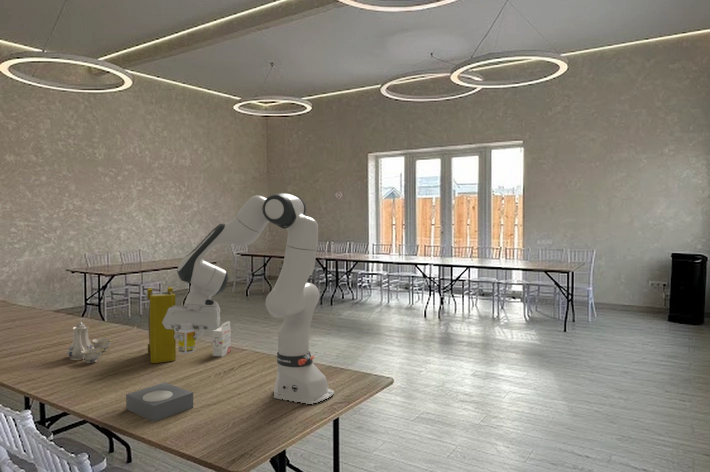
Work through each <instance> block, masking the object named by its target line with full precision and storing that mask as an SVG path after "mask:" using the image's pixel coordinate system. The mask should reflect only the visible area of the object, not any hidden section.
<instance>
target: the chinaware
mask: <svg viewBox="0 0 710 472" xmlns="http://www.w3.org/2000/svg"><path fill="white" fill-rule="evenodd" d="M71 328H72V332H73V337H72V338H73V339H72V342H71V344H70V346H69V347H68V349H67V350H66V355H67V356H69V357H70V358H69V359H70V360H71V361H81V360H82V359H83V360H82V362H83V363H87V364H93V363H94V362H95V363H97V361H98V360H99V359H100V357H101V356H102V353H104V352H106V350H107V349H108V348H109V347H110V346H111V343H112V341H113V339H112V338H111V337H108V338H106V337H100V338H98V339H92V341H91V340H90V338H89V328H90V326H87V325H85V324H84V323H83V322H82V321H79V323H78V324H77V325H76V326H74V327H71ZM102 351H103V352H102Z"/></svg>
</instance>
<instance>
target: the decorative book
mask: <svg viewBox="0 0 710 472" xmlns="http://www.w3.org/2000/svg"><path fill="white" fill-rule="evenodd" d="M146 291H147V300H149V307H148V308H149V310H148V320H147V321H148V341H149V343H148V344H147V355H148V356H150V363H151V364H159V363H160V364H161V363H167V362H173V361H176V360H177V359H176V357H177V355H176V354H177V353H176V352H177V348H176V345H177V344H176V341H177V339H175V338H174V335H175V331H174V329H166V328H165V327H164V325H163V323H162V322H163V319H164V317H165V315H166V314H167V311H168V309H169V308H170V307H173V306H176V294H175V293H174V288H173V287H172V286H170V287H167V292H166V293H165V292H164V293H153V288H151V287H150V288H149V287H148V288H147V289H146Z"/></svg>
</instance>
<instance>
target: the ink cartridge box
mask: <svg viewBox="0 0 710 472" xmlns="http://www.w3.org/2000/svg"><path fill="white" fill-rule="evenodd" d="M220 325H221V326H219V328H218V329H216V330H212V356H213V357H220V358H222V357H224V356H226V355H228V354H229V353H231V351H232V350H231V349H232V348H231V347H232V346H231V345H232V343H231V342H232V341H231V337H232V336H231V335H232V334H231V333H232V332H231V322H230V320H228V321H226V322H223V323H222V324H220Z"/></svg>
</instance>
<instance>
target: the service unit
mask: <svg viewBox="0 0 710 472" xmlns="http://www.w3.org/2000/svg"><path fill="white" fill-rule="evenodd" d="M125 395H126V396H125V397H126V398H125V399H126V401H125V402H126V404H125V406H126V409H125V410H127V411H130V412H131V411H132V412H131V413H133V412H134V413H133V414H136V415H138V416H140V417H142V418H144V419H146V420H149V421H151V422H153V423H155V422H157V421H161V420H164V419H165V418H169V417H172V416H173V415H177V414H180V413H182V412H184V411H187V410H190V409H192V408H194V392H193V391H191V390H187V389H185V388H183V387H179V386H176V385H174V384H171V383H168V382H162V383H158V384H155V385H152V386H148V387H145V388H143V389H139V390H136V391H132V392H129V393H126V394H125Z"/></svg>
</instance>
